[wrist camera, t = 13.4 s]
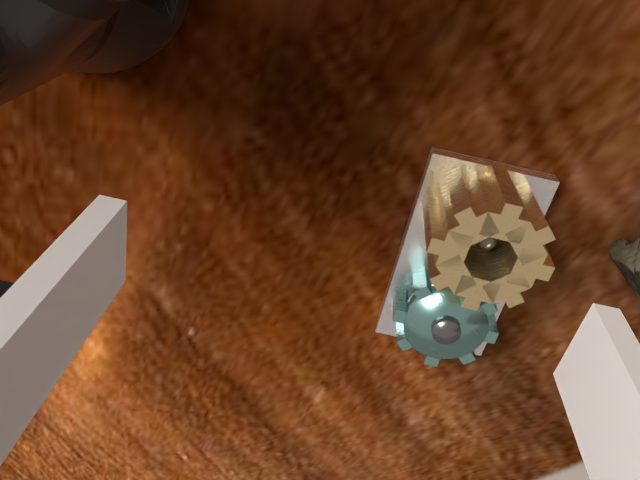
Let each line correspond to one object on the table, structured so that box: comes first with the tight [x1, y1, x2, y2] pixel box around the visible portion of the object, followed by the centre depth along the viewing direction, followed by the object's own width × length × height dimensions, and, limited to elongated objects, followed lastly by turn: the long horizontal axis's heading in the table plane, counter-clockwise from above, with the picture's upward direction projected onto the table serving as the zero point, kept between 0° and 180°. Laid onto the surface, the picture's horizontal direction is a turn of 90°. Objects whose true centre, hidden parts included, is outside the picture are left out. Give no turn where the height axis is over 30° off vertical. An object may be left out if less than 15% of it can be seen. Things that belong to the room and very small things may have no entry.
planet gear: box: [422, 162, 556, 311], centre depth 43 cm, size 9×9×7 cm
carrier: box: [375, 146, 560, 367], centre depth 47 cm, size 10×18×6 cm, turn 168°
